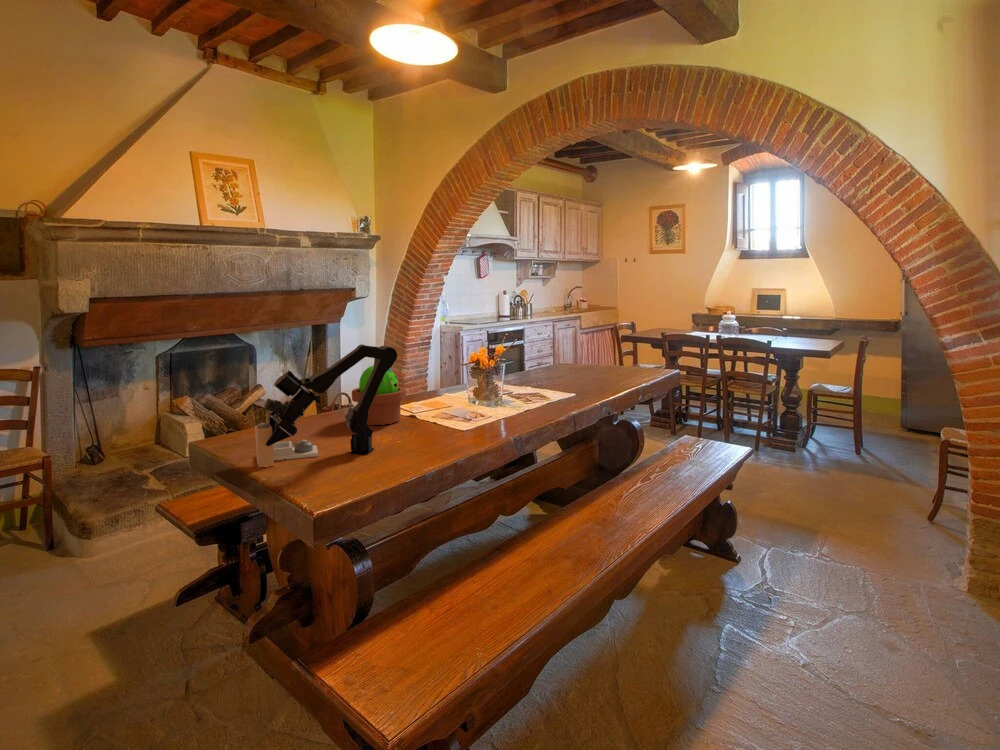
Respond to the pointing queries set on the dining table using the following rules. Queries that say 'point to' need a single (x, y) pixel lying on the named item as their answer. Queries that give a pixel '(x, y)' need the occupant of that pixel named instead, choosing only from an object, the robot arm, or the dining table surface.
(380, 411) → the potted cactus
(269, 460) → the block
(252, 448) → the dining table surface
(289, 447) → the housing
